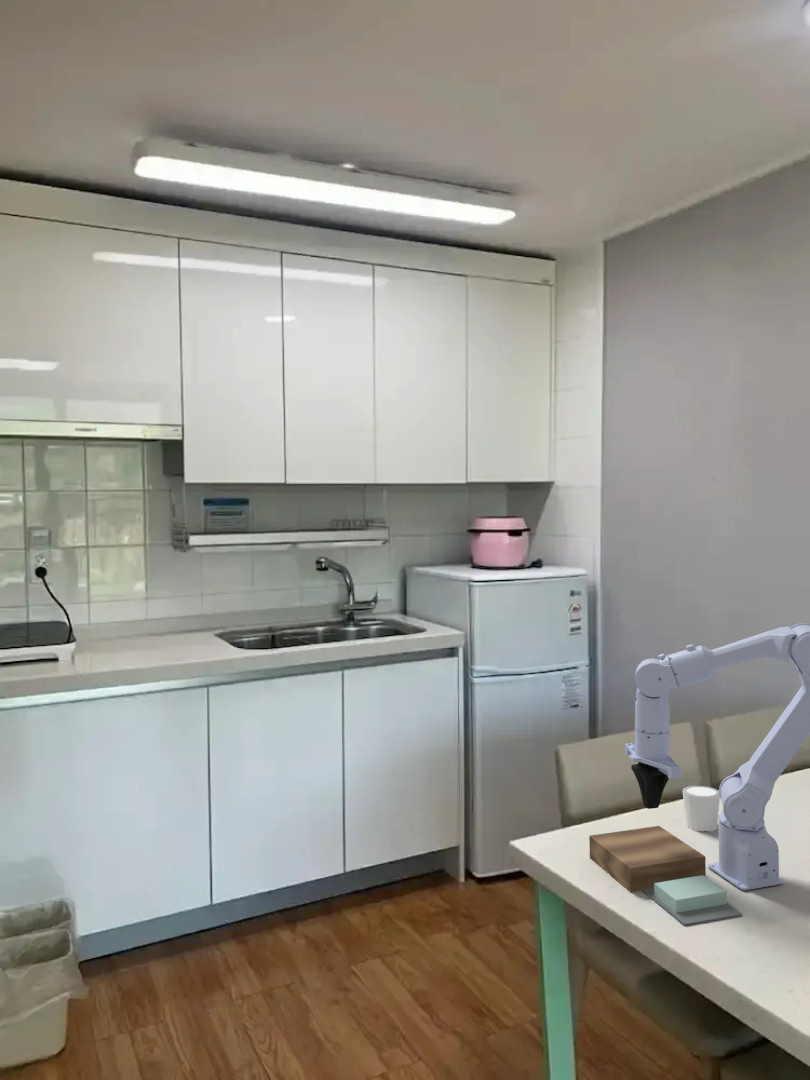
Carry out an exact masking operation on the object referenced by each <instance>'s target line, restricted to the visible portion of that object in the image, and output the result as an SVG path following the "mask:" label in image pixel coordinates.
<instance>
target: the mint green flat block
mask: <svg viewBox="0 0 810 1080" xmlns="http://www.w3.org/2000/svg"><path fill="white" fill-rule="evenodd" d="M654 896H656V897H657V898H658V899H659V900H661V901H662V902H663V903H664V904H666V905H667V906H668V907H669V908H670V909H672V910H673V911H674V912H675V913H679V912H684V911H690V910H696V909H701V908H707V907H713V906H718V905H724V904H727V903H728V902H727V901H728V899H727V898H728V897H727V896H728V893H727V890H725V889H724V888H723V887H721V886H720V885H718V884H716V883H715V882H714V881H712V880H711V879H710V878H708V877H705V876H704V875H701V876H695V877H689V878H683V879H677V880H671V881H665V882H659V883H654Z"/></svg>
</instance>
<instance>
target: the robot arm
mask: <svg viewBox="0 0 810 1080" xmlns="http://www.w3.org/2000/svg"><path fill="white" fill-rule="evenodd" d="M685 647H686V648H685V649H684V650H680V651H677V652H673V653H670V654H667V655H665V653H661V654H658V655H657V656H658V658H657V659H656V658H646V659H644V660H642V661H641V662H639V664H638V666H636V669H635V672H634V678H635V679H634V680H635V685H636V687H637V688H636V692H635V699H636V701H635V704H634V705H635V707H634V742H627V743H624V755H626V756H628V759H629V760H630V761H632V762H634V763H635V764H631V767H630V768H631V771H632V772H633V774H634V776H635V778H636V781H637V783H638V786H639V791H640V794H641V799H642V803H643V807H645V808H646V809H648V810H652V809H659V806H660V803H661V799H662V796H663V793H664V790H665V787H666V785H667V784H668V782H669V780H680V779H682V766H680V765H679V764H677V762H676V761H675V760H674V759H673V757H672V756H671V755H670V717H671V716H670V715H671V714H670V712H671V711H670V709H671V706H670V705H671V704H670V703H669V691H670V690H671V689H673V688H674V689H678V688H683V687H685V686H690V685H693V684H697V683H701V682H703V681H707V680H710V679H713V678H714V677H715V675H716V673H717V671H718V670H719V669H721V668H726V667H730V666H734V665H739V664H742V663H746V662H750V661H753V660H754V661H755V660H759V659H762V658H771V659H776V660H779V661H782V662H786V663H789V657H790V659H791V660H792V661H793V663H794V665H795V667H796V670H797V674H798V677H799V680H800V683H801V686H800V688H799V689H798V691H797V692H796V693H795V695H794V697H793V698H792V700H791V701H790V702H789V703H788V705H787V706H786V708H785V709H784V710H783V712H782V713H781V714H780V716H779V717H778V719H777V720H776V721H775V723H774V725H773V726H772V728H771V729H770V730H769V731H768V732H767V735H766V736H765V738H764V739H763V740H762V741H761V743H760V744H759V745H758V747H757V749H756V750H755V751H754V753H753V754H752V755H751V757H750V758H749V759H748V761H746V762H744V763H743V764H741V765H740V766H739V768H737V770H736V771H735V772H734V773H733V774H731V775H728V776H727V777H726V778H724V779H723V780H721V783H720V784H719V789H718V791H719V795H720V800H721V804H722V811H721V812H720V813H719V814H718V823H717V824H718V862H713V863H708V864H707V867H708V869H711V870H712V872H715V873H716V874H717V875H719V876H720V877H722V878H723V879H725V880H727V881H728V883H731V884H732V885H734V886H735V887H736V888H738V889H739V890H741V891H747V890H748V891H749V890H755V889H760V888H765V887H772V886H779V885H783V884H784V879H781V878H780V866H779V865H780V862H779V861H780V857H779V855H780V854H779V851H780V850H779V846H778V843H777V840H776V839H775V838H774V837H772V836H771V834H769V832H768V831H767V829H766V825H765V823H766V822H765V820H764V818H765V812H766V811H765V809H766V806H767V804H768V802H769V801H770V800H771V797H772V795H773V789H774V787H775V784H776V782H777V781H778V779H779V777H780V776H781V775H782V774H783V772H784V771H785V769H786V768H787V766H788V765H789V764H790V762H791V761H792V760H793V758H794V757H795V755H796V754H797V752H798V751H799V750H800V748H801V747H802V746H803V745H804V743H805V741H807V739H808V737H809V736H810V623H807V622H806V623H805V622H804V623H803V622H799V623H796V624H793V625H792V626H790V627H789V626H781V627H778V628H774V629H770V630H768V631H765V632H762V633H759V634H756V635H752V636H750V637H746V638H743V639H741V640H737V641H735V642H731V643H729V644H725V645H723V646H720V647H716V648H714V649H709V648H708V647H705V646H704V645H698V646H695V644H693V643H691V644H688V645H685Z"/></svg>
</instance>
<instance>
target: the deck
mask: <svg viewBox="0 0 810 1080" xmlns="http://www.w3.org/2000/svg"><path fill="white" fill-rule="evenodd" d="M588 840H589V858H590V859H591V860H592V861H593V862H594V863H595V864H596V865H598V866H599V867H600V868H601V869H602V870H604V871H605V872H606V873H607V874H608V875H610V876H611V877H612V878H613V879H614V880H616V881H617V882H618V884H620V885H621V886H622V887H624V889H626V890H627V891H628V892H629V893H634V892H635V893H636V892H643V891H642V889H647V888H653V887H654V883H659V882H665V881H671V880H677V879H683V878H689V877H695V876H701V875H704V876H705V877H706V876H707V873H706V872H707V870H706V865H707V864H706V855H704V854H702V853H701V852H700V851H698V850H696V849H694V848H693V847H692V846H690V845H689V844H687V843H686V842H684V841H683V840H682V839H679V838H678V837H677V836H675V835H673V834H672V833H671V832H670V831H668V830H666V829H664V828H663V827H662V826H660V825H656V826H649V827H647V826H646V827H640V828H634V829H626V830H620V831H612V832H605V833H601V834H600V833H599V834H591V835H589V839H588ZM706 878H707V877H706Z"/></svg>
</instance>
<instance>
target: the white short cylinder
mask: <svg viewBox="0 0 810 1080" xmlns="http://www.w3.org/2000/svg"><path fill="white" fill-rule="evenodd" d="M682 797H683V806H684V815H685V816H684V817H685V825H687V826H688V827H689V828H690V830H691V829H693V830H692V831H694V830H696V831H695V832H698V831H703V832H702V833H705V832H704V831H708V832H707V833H710V832H709V831H712V832H715V831H717V830H716V829H718V824H719V823H718V821H719V819H718V817H719V811H720V800H721V798H720V795H719V789H716V788H714V787H711V786H710V787H709V786H706V785H704V786H703V785H690V786H686V787H684V788H683V789H682ZM687 826H686V827H687ZM688 827H687V828H688ZM689 828H688V829H689ZM714 830H715V831H714Z"/></svg>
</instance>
